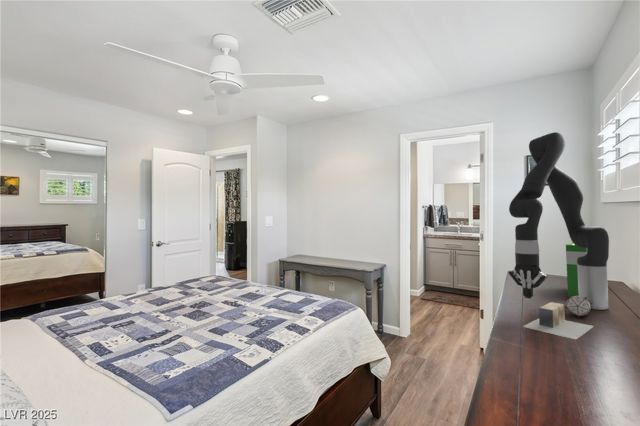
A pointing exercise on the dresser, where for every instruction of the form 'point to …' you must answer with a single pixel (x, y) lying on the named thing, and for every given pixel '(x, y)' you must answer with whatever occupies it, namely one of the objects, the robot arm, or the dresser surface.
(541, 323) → the maple block
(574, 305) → the game die
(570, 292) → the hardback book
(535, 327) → the felt mat
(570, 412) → the dresser surface
